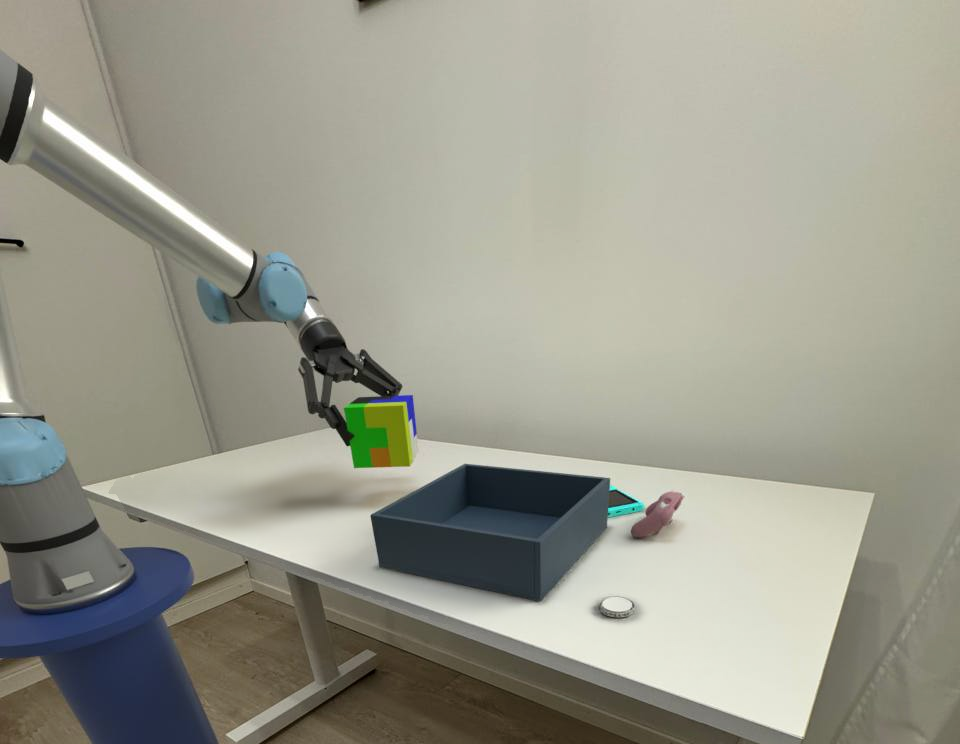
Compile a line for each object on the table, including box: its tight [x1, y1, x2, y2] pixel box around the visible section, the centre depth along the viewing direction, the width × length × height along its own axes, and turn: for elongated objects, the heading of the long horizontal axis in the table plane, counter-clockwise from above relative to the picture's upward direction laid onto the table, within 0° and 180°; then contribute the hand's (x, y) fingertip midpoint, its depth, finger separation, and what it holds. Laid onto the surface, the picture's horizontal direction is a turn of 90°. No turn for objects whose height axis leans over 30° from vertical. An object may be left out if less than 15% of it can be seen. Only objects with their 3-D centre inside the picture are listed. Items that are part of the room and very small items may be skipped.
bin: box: [370, 463, 611, 602], centre depth 82 cm, size 26×26×8 cm
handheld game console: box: [608, 484, 645, 518], centre depth 98 cm, size 10×16×1 cm, turn 19°
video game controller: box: [630, 489, 685, 539], centre depth 84 cm, size 10×5×7 cm, turn 151°
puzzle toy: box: [343, 394, 420, 469], centre depth 99 cm, size 10×10×10 cm
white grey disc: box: [599, 596, 635, 618], centre depth 66 cm, size 4×4×1 cm
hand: (380, 433), depth 99 cm, fingers closed on puzzle toy, 12 cm apart
